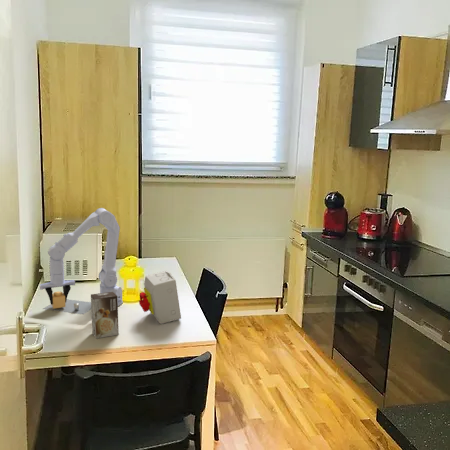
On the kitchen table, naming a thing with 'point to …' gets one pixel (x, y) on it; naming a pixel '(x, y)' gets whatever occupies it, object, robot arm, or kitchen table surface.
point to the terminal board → (72, 307)
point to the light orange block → (58, 300)
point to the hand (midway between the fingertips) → (58, 302)
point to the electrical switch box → (161, 297)
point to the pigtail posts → (76, 307)
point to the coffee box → (104, 314)
